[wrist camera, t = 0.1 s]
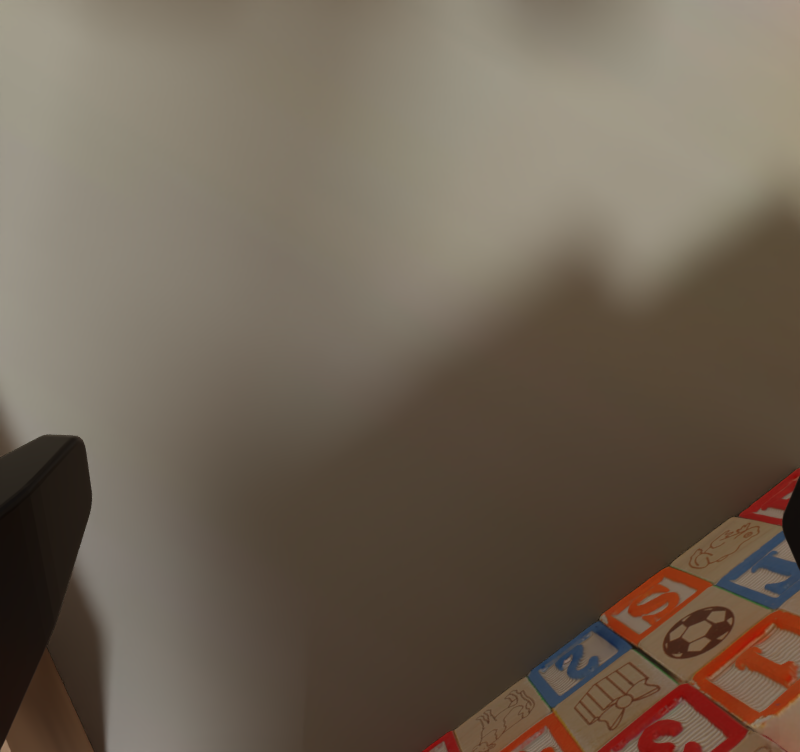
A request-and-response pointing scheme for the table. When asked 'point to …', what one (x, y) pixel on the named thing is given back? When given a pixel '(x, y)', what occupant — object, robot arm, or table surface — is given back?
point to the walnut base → (46, 716)
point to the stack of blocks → (672, 659)
